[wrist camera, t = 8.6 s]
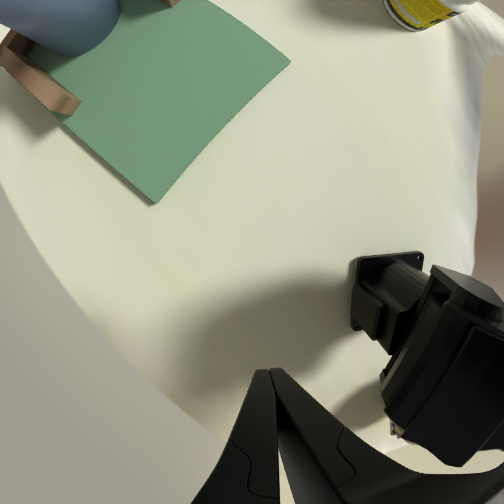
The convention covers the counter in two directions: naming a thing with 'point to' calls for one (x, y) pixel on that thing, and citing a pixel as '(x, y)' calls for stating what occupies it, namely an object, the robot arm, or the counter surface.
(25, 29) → the blue domed cylinder
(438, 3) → the supplement bottle
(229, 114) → the felt mat
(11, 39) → the wooden rack
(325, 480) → the robot arm
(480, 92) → the counter surface
